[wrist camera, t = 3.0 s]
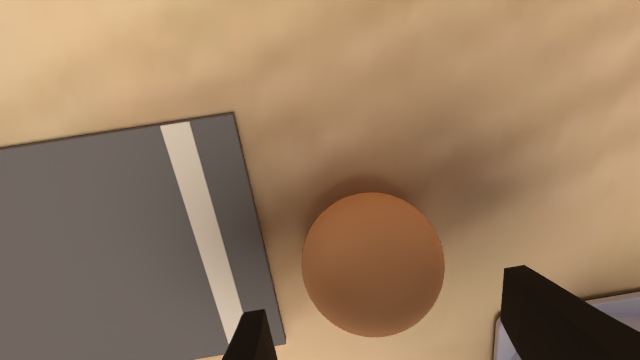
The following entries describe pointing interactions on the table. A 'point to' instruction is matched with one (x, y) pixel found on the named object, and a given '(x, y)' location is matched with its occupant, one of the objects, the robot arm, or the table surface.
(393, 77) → the table surface
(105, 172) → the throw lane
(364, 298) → the ball
